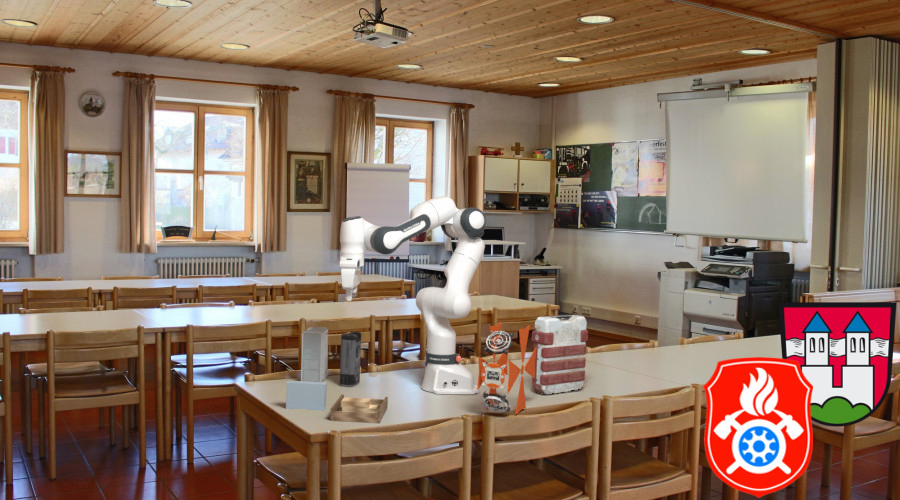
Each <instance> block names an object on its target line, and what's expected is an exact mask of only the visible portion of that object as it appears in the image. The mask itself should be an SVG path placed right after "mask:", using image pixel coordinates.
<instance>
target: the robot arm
mask: <svg viewBox="0 0 900 500" xmlns="http://www.w3.org/2000/svg"><path fill="white" fill-rule="evenodd" d="M408 218H409V219H408V220H406V221H404V222H403V223H401V224H398V225H396V226H387V225H386V226H381V225H380V226H379V225H375V224H374V223H371V222H369V221H367V220H365V219H364V218H363V217H362V216H357V215H356V216H350V217H346V218H344V219H343V220H342V221H341V225H340V232H339V242H340V250H339V263H338V265H339V268H341V269H340V278H341V289H343V290H345V295H346V301H347V302H352V301H353V298H356V297H357V290H358V286H359V285H360V283H361V278H362V277H361V269H362V268H361V267H364V266H365V251H367V252H372V253H378V254H382V255H385V256H386V255H391V254H392V253H394V252H396V251H397V250H398V248H399V247H400V246H401V245H403V244H404V243H405V242H407V241H408V240H411V239H413V238H414V237H418V235H420V234H422V233H425V232H429V231H432V230H435V229H436V228H438V227H441V230H442V232H443V234H444V235H445V236H446V237H448V238H451V239H457V244H456V247H455V249H454V251H453V253H452V255H451V256H450V259H449V260H448V263H447V264H446V266H445V268H444V276H445V277H446V283H445V286H444V287H437V286H429V287H428V286H426V287H424V288H421V289H420V290H419V291H418V292H417V294H416V296H415V305H416V307H417V309H418V311H420V313H421V315H422V317H423V320H424V323H425V328H426V351H425V355H424V366H425V368H424V374H423V375H424V376H423V380H422V384H421V386H420V389H422V390H423V391H426V392H429V393H433V394H436V395H476V394H475V393H477V394H479V393H480V388H479V389H478V391H477V386H478V384H475V379H474V375H473V373H472V372H471V371H470V370H469V369H468V368H467V367H465V366H464V365H463V364H462V363H461V361H462V357H461V355H460V354H459V353H457V352H456V344H457V343H456V341H457V333H456V331H455V329H454V328H453V327H452V325H451V323H450V320H449V319H452V320H457V319H464V318H466V317H467V316H468V315H469V314H470V312H471V310H472V300H471V297H470V295H469V288H470V284H471V281H472V279H473V277H474V275H475V273H476V271H477V269H478V268H479V265H480V263H481V260H482V258H483V255H484V252H485V248H486V245H485V241H484V240H483V239H482V237H483V236H484V233H485V227H486V215H485V213H484V212H483V211H482V210H481V209H480V208H478V207H467V208H461V209H460V208H457V206H456V203H455V201H454V200H453V199H452V198H451V197H449V196H446V195H443V196H437V197H435V198H431V199H427V200H425V201H422V202H420V203H418V204H416V205H415V206H414V207H412V208H411V210H410V212H409V217H408Z"/></svg>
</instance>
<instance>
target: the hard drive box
mask: <svg viewBox="0 0 900 500" xmlns="http://www.w3.org/2000/svg"><path fill="white" fill-rule="evenodd" d="M328 342H329V327H325V326H324V327H323V326H309V327H308V328H307V329H306V330H304V331H303V332H302V333H301V364H300V365H301V367H300V369H301V370H300V371H301V372H300V381H304V382H323V381H324V380H325V379H326V378H327V376H328V359H329V357H328V352H329V351H328V350H329V348H328V347H329V346H328V345H329V343H328Z"/></svg>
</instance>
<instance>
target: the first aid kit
mask: <svg viewBox="0 0 900 500" xmlns="http://www.w3.org/2000/svg"><path fill="white" fill-rule="evenodd" d="M587 323H588V322H587V319H586V317H585V316H584V315H578V314H577V315H576V314H559V315H550V316H538V317H537V318H536V320H535V322H534V330H533V331H531V332H532V333H531V341H532V342H533V351H534V350H535V348H536V347H537V348H536V358H535V379H534V378H533V377H532V376H531V377H532V380H531V383H532V384H531V387H532V388H533V389H534V391H535V392H536V393H538V392H539V393H538V394H540V393H543V394H542V395H545V394H546V395H551V394H552V393H554V394H557V393H558V392H565V391H569V392H572V391H571V390H575V391H578V390H577V389H580V390H581V388H582V387H583V385H584V384H585V383H584V381H585V379H586V371H585V368H586V362H587V361H586V360H587V359H586V353H587V343H586V342H587V341H588V340H589V331H588V330H587ZM552 395H553V394H552Z"/></svg>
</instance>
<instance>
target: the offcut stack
mask: <svg viewBox="0 0 900 500" xmlns="http://www.w3.org/2000/svg"><path fill="white" fill-rule="evenodd" d="M371 399H372V398H365V397H364V398H363V397H362V398H361V397H346V396H344V398H343V399H342V401H341V407H342V409H340V410H339V411H345V412H364V413H378V405H371Z"/></svg>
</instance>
